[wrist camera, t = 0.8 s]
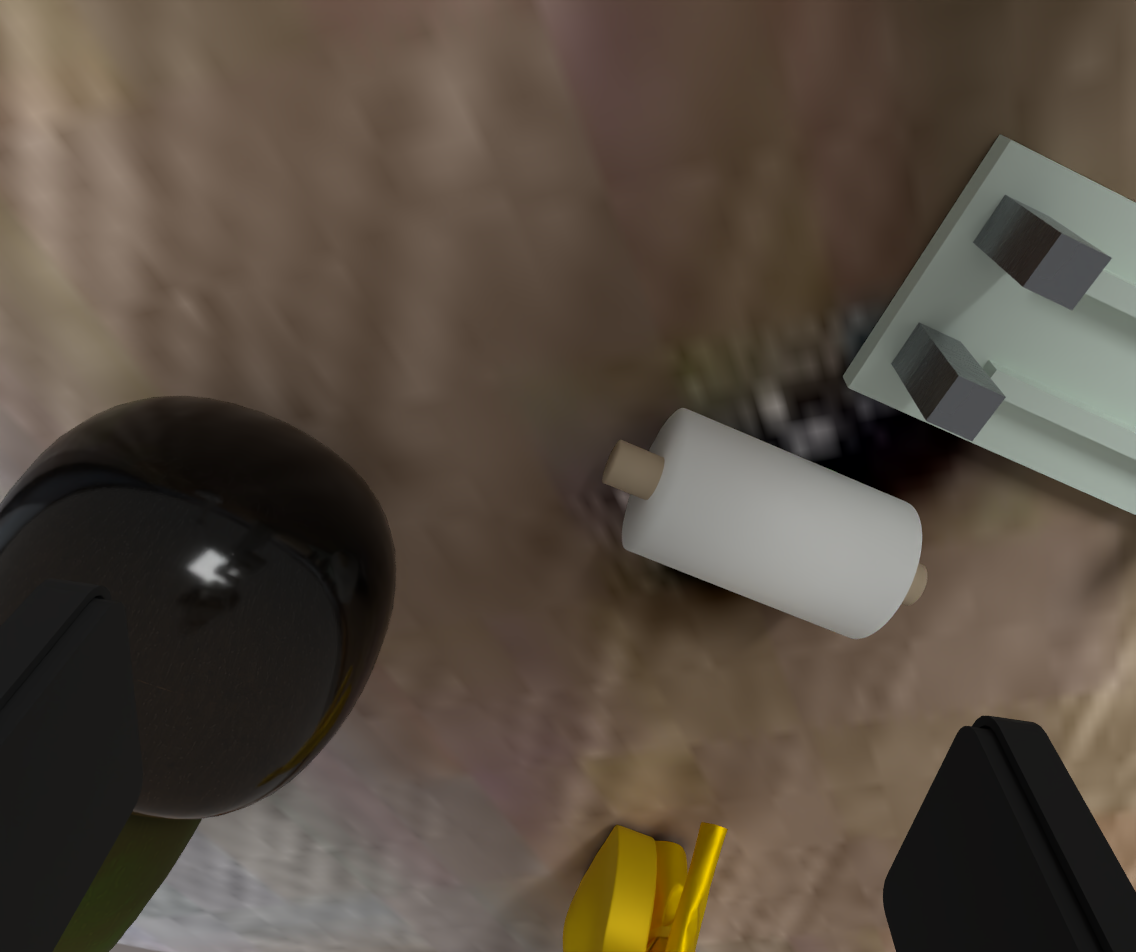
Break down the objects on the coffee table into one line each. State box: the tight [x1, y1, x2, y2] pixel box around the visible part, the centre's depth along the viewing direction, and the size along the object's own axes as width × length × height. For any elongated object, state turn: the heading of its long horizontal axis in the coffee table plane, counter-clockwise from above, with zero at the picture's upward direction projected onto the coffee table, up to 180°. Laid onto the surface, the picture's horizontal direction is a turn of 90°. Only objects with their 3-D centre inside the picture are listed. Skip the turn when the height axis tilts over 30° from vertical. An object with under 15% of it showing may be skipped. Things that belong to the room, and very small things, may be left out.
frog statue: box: [0, 396, 396, 952], centre depth 40 cm, size 19×16×25 cm
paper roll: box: [602, 408, 927, 639], centre depth 40 cm, size 7×15×7 cm, turn 66°
